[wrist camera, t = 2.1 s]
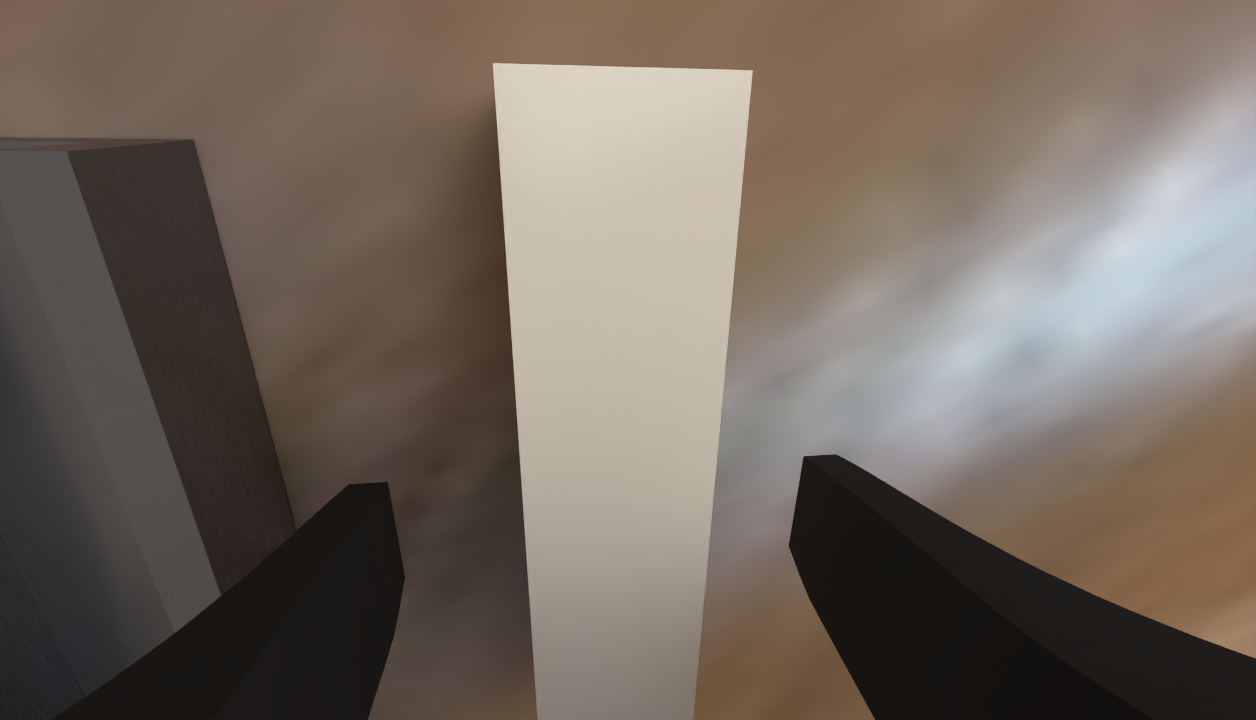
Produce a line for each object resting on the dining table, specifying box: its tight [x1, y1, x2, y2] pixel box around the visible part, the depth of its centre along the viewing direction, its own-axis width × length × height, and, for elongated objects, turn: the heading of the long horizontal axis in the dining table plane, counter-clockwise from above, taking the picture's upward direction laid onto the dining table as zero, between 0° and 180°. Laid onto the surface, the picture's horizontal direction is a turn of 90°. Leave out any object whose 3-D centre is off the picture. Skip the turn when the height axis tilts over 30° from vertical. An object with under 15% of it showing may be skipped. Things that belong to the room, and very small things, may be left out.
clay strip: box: [493, 63, 753, 720], centre depth 11 cm, size 14×2×6 cm, turn 179°
